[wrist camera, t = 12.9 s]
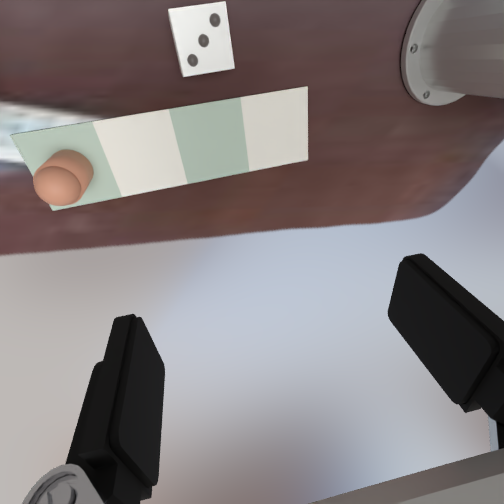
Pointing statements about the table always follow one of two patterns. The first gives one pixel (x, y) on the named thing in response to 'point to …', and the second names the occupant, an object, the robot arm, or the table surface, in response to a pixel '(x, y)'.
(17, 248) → the table surface
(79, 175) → the pawn
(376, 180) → the table surface
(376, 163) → the table surface
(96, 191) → the board
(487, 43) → the robot arm
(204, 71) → the die
